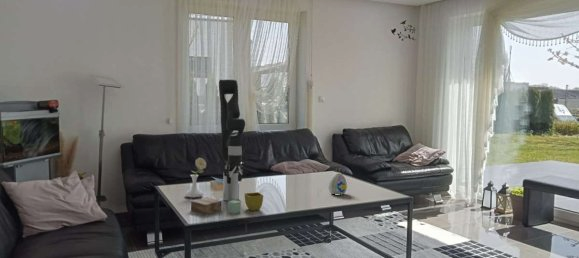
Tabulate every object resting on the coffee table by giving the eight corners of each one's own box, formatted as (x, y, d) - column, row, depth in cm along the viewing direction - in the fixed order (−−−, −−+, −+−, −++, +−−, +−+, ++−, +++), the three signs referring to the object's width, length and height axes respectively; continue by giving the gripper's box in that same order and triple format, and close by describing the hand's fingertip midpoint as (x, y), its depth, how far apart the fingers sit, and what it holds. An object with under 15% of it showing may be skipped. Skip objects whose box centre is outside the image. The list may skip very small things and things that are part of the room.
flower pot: (248, 212, 246) (249, 196, 246) (243, 208, 254) (244, 193, 254) (263, 210, 250) (263, 195, 249) (257, 207, 258) (258, 192, 257)
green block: (233, 210, 250) (234, 200, 249) (240, 211, 247) (240, 201, 246) (227, 212, 246) (227, 201, 245) (234, 213, 243) (234, 203, 242)
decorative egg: (334, 197, 288) (335, 174, 287) (324, 193, 299) (325, 171, 298) (349, 195, 294) (350, 173, 292) (339, 191, 305) (340, 170, 303)
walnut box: (207, 207, 255) (207, 197, 255) (221, 211, 248) (221, 201, 247) (190, 211, 246) (190, 200, 245) (204, 215, 238) (204, 204, 238)
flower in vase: (187, 199, 270) (187, 159, 268) (183, 195, 281) (183, 156, 278) (207, 197, 276) (208, 158, 274) (203, 193, 286) (204, 156, 284)
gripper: (238, 151, 251) (238, 179, 253) (221, 154, 240) (220, 183, 241) (248, 153, 247) (247, 181, 248) (230, 155, 236) (230, 185, 237)
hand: (234, 182), depth 245 cm, fingers open, 8 cm apart
